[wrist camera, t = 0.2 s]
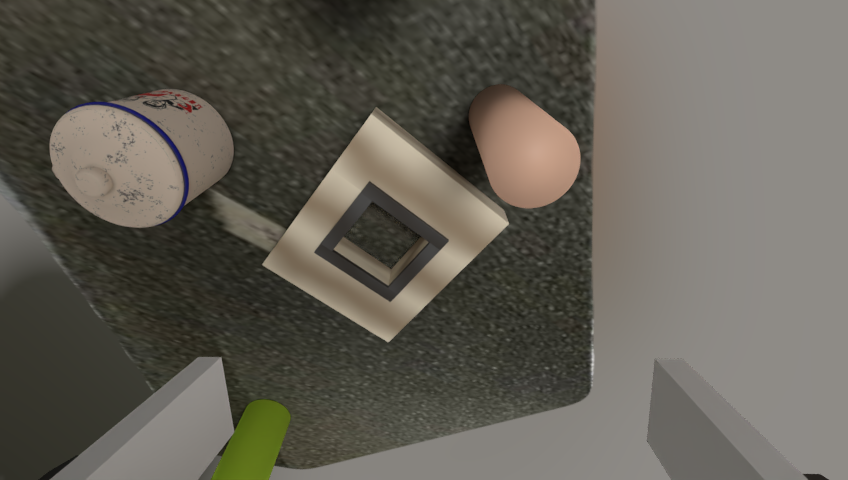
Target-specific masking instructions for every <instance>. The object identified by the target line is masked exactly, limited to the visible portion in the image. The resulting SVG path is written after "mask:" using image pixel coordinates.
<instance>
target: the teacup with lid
mask: <svg viewBox="0 0 848 480" xmlns="http://www.w3.org/2000/svg"><path fill="white" fill-rule="evenodd" d="M233 155H234V146H233V140H232V136H231V133H230V131H229V128H228V126H227V124H226V123H225V121H224V119H223V118H222V117H221V115H220V114H219V113H218V112H217V111H216V110H215V109H214V108H213V107H212V106H211V105H210V104H209V103H207V102H206V101H205V100H203V99H201V98H200V97H198V96H196V95H194V94H192V93H189V92H186V91H183V90H178V89H162V90H157V91H153V92H149V93H145V94H140V95H136V96H132V97H128V98H123V99H119V100H115V101H111V102H89V103H85V104H81V105H78V106H76V107H74V108H72V109H70V110H69V111H68V112H66V113H65V114H64V115H63V116H62V117H61V118H60V119H59V121H58V122H57V123H56V125H55V127H54V129H53V131H52V134H51V138H50V157H51V161H52V164H53V166H52V170H53V172H54V174H55V176H56V177H57V178H58V179H59V180H60V182H61V183H62V185H63V186H64V188H65V189H66V190H67V191H68V193H69V194H70V195H71V196H72V197H73V198H74V199H75V200H76V201H77V202H78V203H79V204H80V205H82V206H83V207H84V208H85V209H87V210H88V211H90V212H91V213H93V214H94V215H96V216H98V217H100V218H102V219H104V220H106V221H108V222H111V223H114V224H117V225H121V226H126V227H135V228H143V227H151V226H157V225H160V224H163V223H165V222H167V221H169V220H171V219H172V218H174V217H175V216H176V215H177V214H178V213H179V212H180V211H181V209H182V208H183V206H184V205H186V204H187V203H189V202H190V201H191V200H193V199H194V198H195V197H197V196H198V195H200V194H201V193H202V192H204V191H205V190H206V189H208V188H209V187H211V186H212V185H213V184H215V183H216V182H218V181H219V180H220V179H222V178H223V177H224V176H225V174H226V173H227V172H228V170H229V169H230V167H231V164H232V161H233Z"/></svg>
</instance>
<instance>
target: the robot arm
mask: <svg viewBox="0 0 848 480" xmlns="http://www.w3.org/2000/svg"><path fill="white" fill-rule="evenodd" d="M233 433H234V427H233V422H232V416H231V410H230V405H229V399H228V393H227V387H226V382H225V376H224V370H223V365H222V359H221V357H198V358H197V359H195V360H194V361H193V362H192V363H191V364H189V365H188V366H187V367H186V368H185V369H183V370H182V371H181V372H180V373H179V374H177V375H176V376H175V377H174V378H172V379H171V380H170V381H169V382H168V383H166V384H165V385H164V386H163V387H162V388H160V389H159V390H158V391H157V392H155V393H154V394H153V395H152V396H151V397H149V398H148V399H147V400H146V401H145V402H143V403H142V404H141V405H140V406H138V407H137V408H136V409H135V410H134V411H133V412H131V413H130V414H129V415H128V416H126V417H125V418H124V419H123V420H122V421H120V422H119V423H118V424H117V425H116V426H114V427H113V428H112V429H111V430H110V431H108V432H107V433H106V434H105V435H103V436H102V437H101V438H100V439H98V440H97V441H96V442H95V443H94V444H92V445H91V446H90V447H89V448H88V449H86V450H85V451H84V452H83V453H81V454H80V455H79V456H75V457H73V458H72V459H70V460H68V461H66V462H65V463H63V464H61V465H59V466H58V467H56V468H54V469H53V470H51V471H49V472H48V473H46V474H45V475H44V476H43V477H41V478H40V479H39V480H198V478H199V477H200V476H201V475H202V473H203V472H204V471H205V469H206V468H207V467H208V465H209V464H210V463H211V461H212V460H213V459H214V458H215V457H216V455H217V454H218V453H219V451H220V450H221V449H222V448H223V446H224V445H225V444H226V442H227V441H228V440H229V439H230V437H231V436H232V435H233ZM647 442H648V443H649V445H650V446H651V448H652V450H653V451H654V453H655V455H656V456H657V458H658V459H659V461H660V462H661V464H662V466H663V467H664V469H665V470H666V472H667V474H668V475H669V477H670V478H671V480H828V479H827V478H825V477H824V476H822V475H820V474H802V473H801V472H800V471H799V470H798V469H796V467H795V466H793V465H792V464H791V463H790V462H789V461H788V460H787V459H786V458H785V457H784V456H783V455H782V454H781V453H780V452H779V451H778V450H777V449H776V448H775V447H774V446H773V445H772V444H771V443H770V442H768V440H767V439H766V438H765V437H763V436H762V435H761V434H760V433H759V432H758V431H757V430H756V429H755V428H754V427H753V426H752V425H751V424H750V423H749V422H748V421H747V420H746V419H745V418H744V417H743V416H742V415H741V414H740V413H739V412H738V411H737V410H735V408H733V407H732V406H731V405H730V404H729V403H728V402H727V401H726V400H725V399H724V398H723V397H722V396H721V395H720V394H719V393H718V392H717V391H716V390H715V389H714V388H713V387H712V386H711V385H710V384H709V383H708V382H706V380H704V379H703V378H702V377H701V376H700V375H699V374H698V373H697V372H696V371H695V370H694V369H693V368H692V367H691V366H690V365H689V364H688V363H687V362H686V361H685V360H684V359H655V362H654V373H653V383H652V393H651V403H650V414H649V424H648V434H647Z"/></svg>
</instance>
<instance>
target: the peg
mask: <svg viewBox="0 0 848 480" xmlns="http://www.w3.org/2000/svg"><path fill="white" fill-rule="evenodd" d="M469 124H470V127H471V130H472V133H473V136H474V139H475V141H476V144H477V147H478V150H479V153H480V156H481V158H482V161H483V164H484V167H485V170H486V173H487V175H488V178H489V181H490V184H491V186H492V188H493V190H494V191H495V193H496V194H497V195H498V196H499V197H500V198H501V199H502V200H504V201H505V202H507V203H509V204H511V205H513V206H516V207H521V208H536V207H541V206H545V205H547V204H550V203H552V202H554V201H555V200H557V199H558V198H560V197H561V196H562V195H563V194H565V193H566V192H567V190H568V189H569V188H570V187H571V185H572V184H573V182H574V181H575V179H576V177H577V174H578V171H579V167H580V150H579V147H578V144H577V142H576V139H575V138H574V136H573V135H572V134H571V133H570V132H569V130H567V129H566V128H565V127H564V126H562V125H561V124H560V123H559V122H557V121H556V120H555V119H553V118H552V117H551V116H550V115H548V114H547V113H546V112H545V111H543V110H542V109H541V108H539V107H538V106H537V105H536V104H534V103H533V102H532V101H531V100H529V99H528V98H527V97H526V96H524V95H523V94H522V93H520V92H519V91H518V90H517V89H515V88H513V87H511V86H508V85H503V84H498V85H493V86H490V87H487V88H485V89H484V90H482V91H481V92H480V93H479V94H478V95H477V96H476V97H475V99H474V100H473V102H472V104H471V106H470V110H469Z"/></svg>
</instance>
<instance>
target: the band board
mask: <svg viewBox="0 0 848 480" xmlns="http://www.w3.org/2000/svg"><path fill="white" fill-rule="evenodd" d="M372 201H373V202H374V203H376V204H377V205H378V206H380V207H381V208H382V209H384V210H385V211H387V212H388V213H389V214H391V215H392V216H393V217H395V218H396V219H398V220H399V221H400V222H402V223H403V224H405V225H406V226H407V227H409V228H410V229H411V230H413V231H414V232H416V233H417V234H418V235H420V236H421V237H420V238H419V239H418V240H417V242H416V243H415V244H414V245H413V246H412V247H411V248H410V249H409V250H408V251H407V252H406V254H405V255H404V256H403V257H402V258H401V259H400V260H399V261H398V262H397V263H396V265H395V266H394V267H393V268H392V269H390V268H389V267H387V266H386V265H384V264H383V263H381V262H380V261H378V260H377V259H375V258H374V257H372V256H371V255H370V254H368V253H367V252H365V251H364V250H362V249H361V248H359V247H358V246H356V245H355V244H353V243H352V242H350V241H349V240H347V239H346V238H344V236H345V234H346V233H347V232H348V231H349V229H350V228H351V227H352V226H353V224H354V223H355V222H356V221H357V220H358V218H359V217H360V216H361V215H362V213H363V212H364V211H365V210H366V208H367V207H368V206H369V205H370V203H371V202H372ZM508 224H509V222H508V220H507V217H506V214H505V212H504V210H503V209H502V208H501V207H499V206H498V205H497V204H496V203H495V202H493V201H492V200H491V199H490V198H488V197H487V196H486V195H485V194H483V193H482V192H481V191H480V190H478V189H477V188H476V187H475V186H473V185H472V184H471V183H470V182H468V181H467V180H466V179H465V178H464V177H462V176H461V175H460V174H459V173H457V172H456V171H455V170H454V169H452V168H451V167H450V166H449V165H447V164H446V163H445V162H444V161H442V160H441V159H440V158H439V157H438V156H436V155H435V154H434V153H433V152H431V151H430V150H429V149H428V148H426V147H425V146H424V145H423V144H421V143H420V142H419V141H418V140H416V139H415V138H414V137H413V136H411V135H410V134H409V133H408V132H407V131H405V130H404V129H403V128H402V127H400V126H399V125H398V124H397V123H395V122H394V121H393V120H392V119H390V118H389V117H388V116H387V115H385V114H384V113H383V112H382V111H380V110H379V109H378V108H377V107H376V108H375V109H374V111H373V112H372V113H371V115H370V116H369V117H368V119H367V120H366V122H365V123H364V124H363V126H362V127H361V129H360V130H359V131H358V133H357V134H356V135H355V137H354V138H353V140H352V141H351V142H350V144H349V145H348V146H347V148H346V149H345V151H344V152H343V153H342V155H341V156H340V158H339V159H338V160H337V162H336V163H335V164H334V166H333V167H332V169H331V170H330V171H329V173H328V174H327V175H326V177H325V178H324V180H323V181H322V182H321V184H320V185H319V187H318V188H317V189H316V191H315V192H314V193H313V195H312V196H311V198H310V199H309V200H308V202H307V203H306V204H305V206H304V207H303V209H302V210H301V211H300V213H299V214H298V215H297V217H296V218H295V220H294V221H293V222H292V224H291V225H290V227H289V228H288V229H287V231H286V232H285V233H284V235H283V236H282V238H281V239H280V240H279V242H278V243H277V244H276V246H275V247H274V249H273V250H272V251H271V253H270V254H269V256H268V257H267V258H266V260H265V261H264V263H263V264H262V265H263V266H265V267H266V268H268V269H269V270H271V271H273V272H274V273H276V274H278V275H279V276H281V277H283V278H284V279H286V280H287V281H289V282H291V283H292V284H294V285H296V286H297V287H299V288H300V289H302V290H304V291H305V292H307V293H309V294H310V295H312V296H314V297H315V298H317V299H318V300H320V301H322V302H323V303H325V304H327V305H328V306H330V307H331V308H333V309H335V310H336V311H338V312H340V313H341V314H343V315H344V316H346V317H348V318H349V319H351V320H353V321H354V322H356V323H358V324H359V325H361V326H362V327H364V328H366V329H367V330H369V331H371V332H372V333H374V334H375V335H377V336H379V337H380V338H382V339H384V340H385V341H387V342H389V341H390V340H391V339H392V338H393V337H394V336H395V335H396V334H397V333H398V332H399V331H400V330H401V329H402V328H403V327H404V326H406V325H407V324H408V323H409V322H410V321H411V320H412V319H413V318H414V317H415V316H416V315H417V314H418V313H419V312H420V311H421V310H422V309H423V308H424V307H425V306H426V305H427V304H428V303H429V302H430V301H431V300H432V299H433V298H434V297H435V296H436V295H437V294H438V293H439V292H440V291H441V290H442V289H443V288H444V287H445V286H446V285H447V284H448V283H449V282H450V281H451V280H452V279H453V278H454V277H455V276H456V275H457V274H458V273H459V272H460V271H461V270H462V269H463V268H464V267H465V266H466V265H467V264H468V263H470V262H471V261H472V260H473V259H474V258H475V257H476V256H477V255H478V254H479V253H480V252H481V251H482V250H483V249H484V248H485V247H486V246H487V245H488V244H489V243H490V242H491V241H492V240H493V239H494V238H495V237H496V236H497V235H498V234H499V233H500V232H501V231H502V230H503V229H504V228H505V227H506V226H507V225H508Z"/></svg>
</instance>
